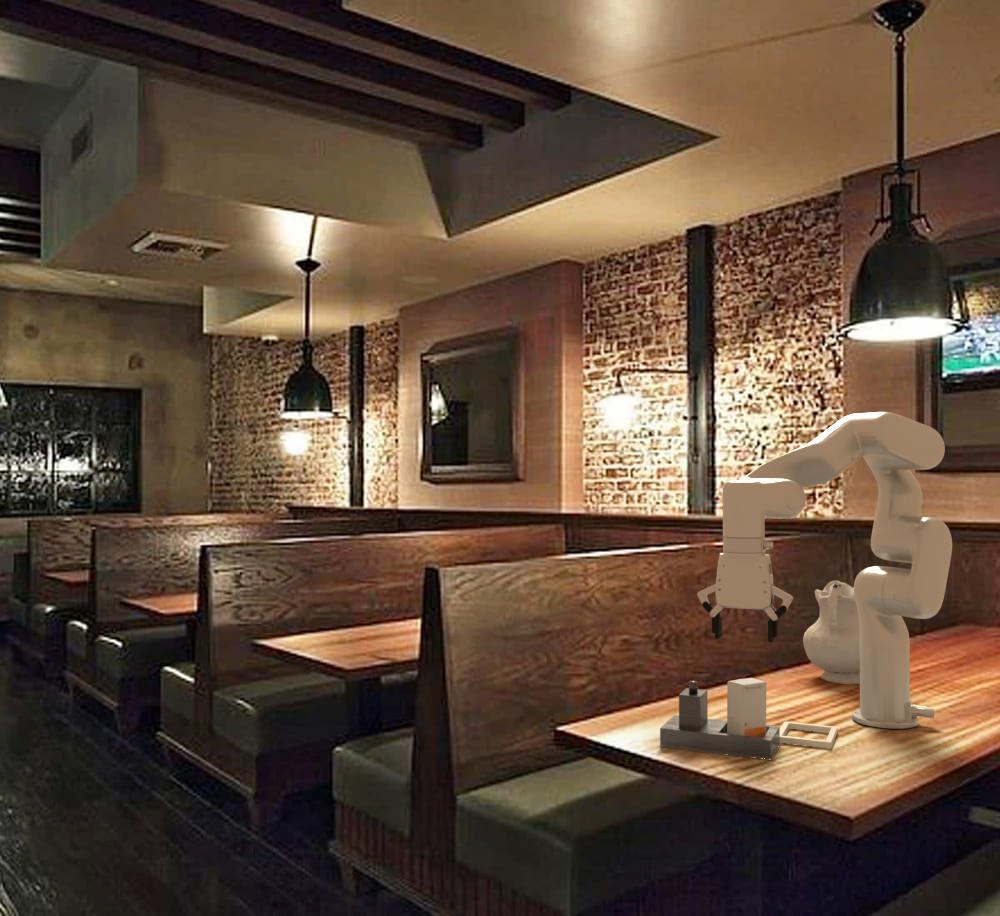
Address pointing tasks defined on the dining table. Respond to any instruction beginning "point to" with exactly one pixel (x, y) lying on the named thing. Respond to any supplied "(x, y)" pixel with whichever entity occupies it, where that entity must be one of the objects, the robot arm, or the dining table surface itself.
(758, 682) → the skincare box
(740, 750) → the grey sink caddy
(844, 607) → the ceramic pitcher
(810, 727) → the tray frame
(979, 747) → the dining table surface
